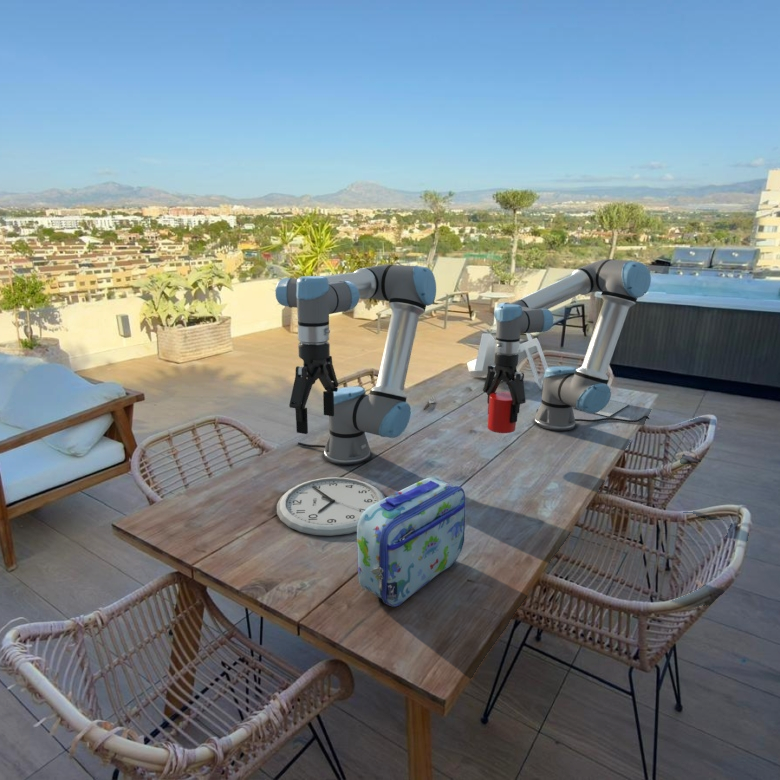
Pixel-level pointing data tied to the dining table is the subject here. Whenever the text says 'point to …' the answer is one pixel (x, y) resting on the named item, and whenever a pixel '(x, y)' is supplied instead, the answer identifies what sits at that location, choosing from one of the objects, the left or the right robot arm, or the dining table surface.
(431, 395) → the fork
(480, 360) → the white plastic object
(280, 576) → the dining table surface
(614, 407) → the invitation card
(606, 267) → the right robot arm
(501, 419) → the canister
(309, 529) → the wall clock
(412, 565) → the lunch box
